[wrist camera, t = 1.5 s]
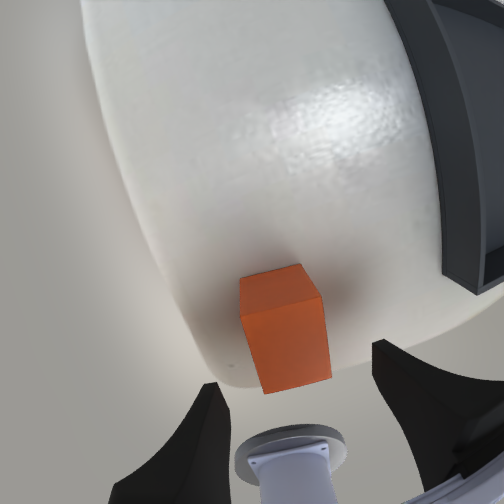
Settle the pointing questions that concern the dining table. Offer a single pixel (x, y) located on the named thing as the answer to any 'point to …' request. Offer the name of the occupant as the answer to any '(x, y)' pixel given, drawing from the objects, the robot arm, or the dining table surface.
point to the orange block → (285, 328)
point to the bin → (463, 126)
